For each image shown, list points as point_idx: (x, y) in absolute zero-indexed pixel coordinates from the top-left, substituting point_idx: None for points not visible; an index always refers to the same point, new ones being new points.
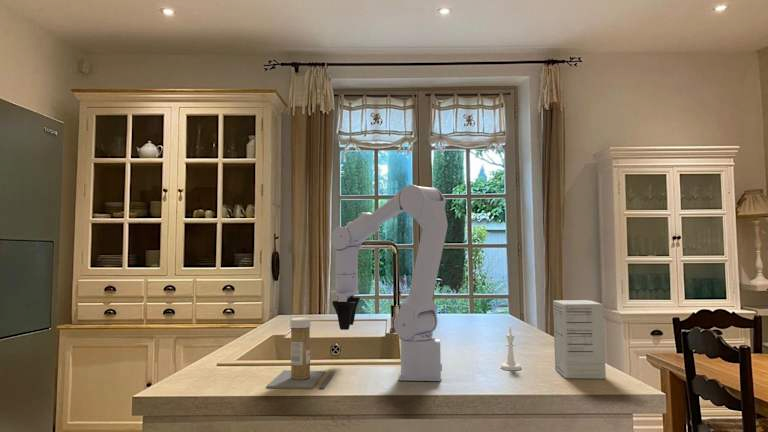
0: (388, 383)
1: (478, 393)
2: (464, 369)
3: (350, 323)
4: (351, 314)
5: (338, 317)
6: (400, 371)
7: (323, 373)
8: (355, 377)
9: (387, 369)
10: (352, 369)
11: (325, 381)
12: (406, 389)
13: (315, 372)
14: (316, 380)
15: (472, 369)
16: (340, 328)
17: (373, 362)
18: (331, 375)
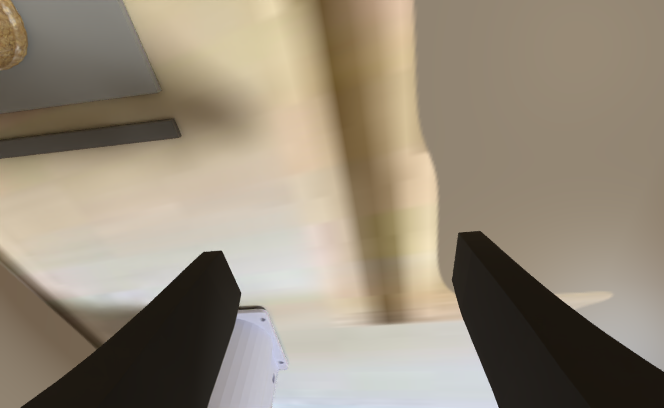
0: (149, 296)
1: None
2: (336, 390)
3: (457, 276)
4: (491, 358)
5: (113, 340)
6: (249, 314)
7: (130, 95)
8: (159, 216)
9: (294, 277)
10: (260, 184)
11: (26, 145)
12: None
13: (108, 55)
14: (3, 109)
15: (339, 398)
16: (195, 260)
17: (387, 228)
18: (115, 141)
